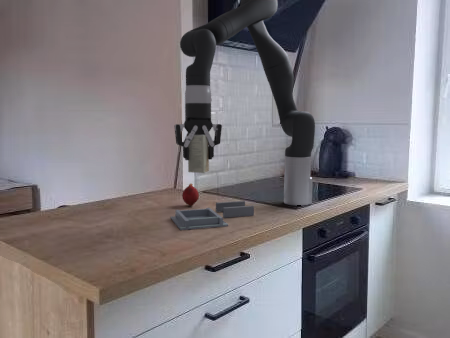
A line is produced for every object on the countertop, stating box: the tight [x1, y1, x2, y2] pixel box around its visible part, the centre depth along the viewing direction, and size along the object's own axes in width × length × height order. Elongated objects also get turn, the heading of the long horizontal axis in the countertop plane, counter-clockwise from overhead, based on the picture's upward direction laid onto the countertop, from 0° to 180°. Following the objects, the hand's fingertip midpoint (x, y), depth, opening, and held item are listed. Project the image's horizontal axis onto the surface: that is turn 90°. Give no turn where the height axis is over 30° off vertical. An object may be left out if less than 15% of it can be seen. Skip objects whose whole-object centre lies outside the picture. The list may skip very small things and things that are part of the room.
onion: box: [182, 183, 200, 207], centre depth 144 cm, size 6×6×8 cm
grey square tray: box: [170, 207, 229, 231], centre depth 123 cm, size 14×14×3 cm
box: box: [187, 135, 210, 174], centre depth 120 cm, size 5×4×11 cm
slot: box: [215, 200, 255, 219], centre depth 134 cm, size 10×9×3 cm
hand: (198, 159), depth 121 cm, fingers closed on box, 6 cm apart
